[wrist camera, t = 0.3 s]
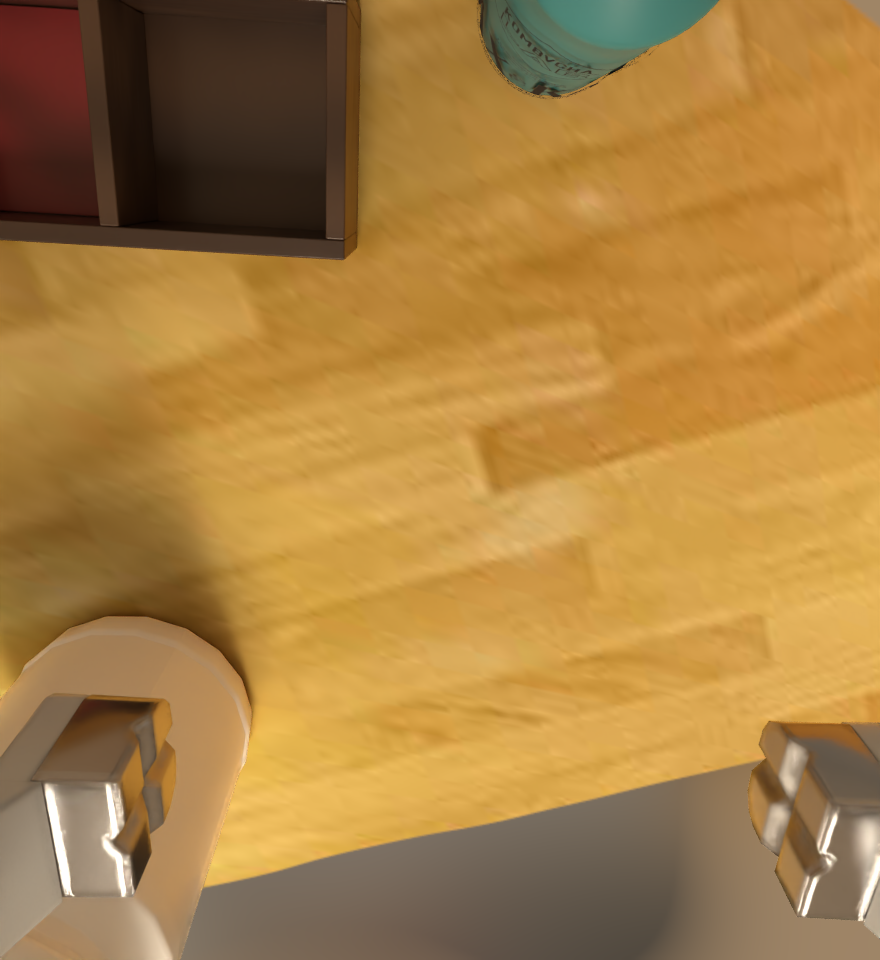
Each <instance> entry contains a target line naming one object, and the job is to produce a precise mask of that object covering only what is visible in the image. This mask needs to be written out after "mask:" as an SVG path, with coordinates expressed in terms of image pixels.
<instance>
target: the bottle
mask: <svg viewBox="0 0 880 960" xmlns="http://www.w3.org/2000/svg"><path fill="white" fill-rule="evenodd" d="M54 693H65V694H85V695H92V694H93V695H110V696H127V697H144V698H161V699H165V700H167V701H168V702H169V703H170V709H171V716H172V723H173V724H172V726H171V728H170V730H169V733H168V735H167V737H166V739H165V740H166V741H167V742H168V743H169V744H170V745H171V746H172V748H173V749H174V750H175V754H176V784H175V788H174V793H173V798H172V802H171V806H170V809H169V812H168V814H167V817H166V819H165V822H164V824H163V825H162V826H160V827H159V828H158V829H156V830H155V831H154V832H152V833H151V834H150V839H151V848H152V853H151V856H150V858H149V861H148V863H147V865H146V868H145V870H144V872H143V875H142V877H141V880H140V882H139V884H138V887H137V889H136V892H135V894H134V896H133V897H62V899H63V902H62V903H60V904H59V905H58V906H57V907H56V908H55V909H54V910H53V911H52V912H51V913H49V914H48V915H47V916H46V917H45V918H44V919H43V920H42V921H41V922H40V923H38V924H37V925H36V926H35V927H34V928H33V929H32V930H31V931H30V932H28V933H27V934H26V935H25V936H24V937H23V938H22V939H21V940H20V941H19V942H17V943H16V944H15V945H14V946H13V947H12V948H11V949H10V950H9V951H8V952H6V953H5V954H4V955H3V956H2V957H1V958H0V960H180V959H181V956H182V953H183V949H184V946H185V943H186V939H187V936H188V933H189V930H190V926H191V923H192V920H193V917H194V914H195V910H196V907H197V904H198V901H199V898H200V895H201V892H202V889H203V885H204V882H205V879H206V876H207V873H208V870H209V867H210V864H211V861H212V858H213V855H214V852H215V849H216V846H217V843H218V839H219V836H220V833H221V830H222V827H223V824H224V820H225V817H226V814H227V811H228V808H229V805H230V801H231V798H232V795H233V792H234V789H235V786H236V782H237V779H238V776H239V773H240V771H241V769H242V768H243V766H244V765H245V763H246V760H247V752H248V744H249V736H250V727H251V719H252V710H251V707H250V704H249V700H248V697H247V694H246V691H245V687H244V684H243V681H242V679H241V677H240V676H239V675H238V673H237V672H236V671H235V670H234V668H233V667H232V666H231V665H230V663H229V662H228V661H227V660H226V658H225V657H224V656H223V655H222V653H221V652H220V651H219V650H218V649H216V648H215V647H213V646H212V645H210V644H209V643H207V642H206V641H204V640H203V639H201V638H200V637H198V636H197V635H195V634H194V633H192V632H191V631H189V630H188V629H186V628H183V627H180V626H176V625H173V624H170V623H166V622H163V621H160V620H157V619H153V618H150V617H133V616H106V617H103V618H100V619H97V620H94V621H91V622H87V623H84V624H81V625H78V626H75V627H72V628H69V629H67V630H66V631H65V632H64V633H63V634H61V635H60V636H59V637H58V638H57V639H55V640H54V641H53V642H52V643H50V644H49V645H48V646H47V647H46V648H44V649H43V650H42V651H41V652H39V653H38V654H37V655H36V656H35V657H33V658H32V659H31V660H30V661H28V662H27V663H26V664H25V666H24V668H23V670H22V672H21V675H20V676H19V677H18V679H17V680H16V681H15V682H14V683H13V685H12V686H11V687H10V688H9V689H8V691H7V692H6V693H5V694H4V695H3V696H2V698H1V699H0V757H1V756H2V755H3V753H4V752H5V751H6V749H7V748H8V747H9V745H10V744H11V743H12V741H13V740H14V738H15V737H16V736H17V734H18V733H19V732H20V730H21V729H22V728H23V726H24V725H25V724H26V722H27V721H28V720H29V718H30V717H31V716H32V714H33V713H34V712H35V710H36V709H37V708H38V706H39V705H40V704H41V702H42V701H43V700H44V699H45V698H46V697H47V696H49V695H51V694H54Z"/></svg>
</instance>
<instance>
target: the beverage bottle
mask: <svg viewBox="0 0 880 960" xmlns="http://www.w3.org/2000/svg"><path fill="white" fill-rule="evenodd" d="M718 1H719V0H479V4H481V15H480V18H481V19H480V23H479V22H478V21H477V22H478V23H479V24H480V29H481V34H482V37H483V38H484V41H485V44H486V45H485V46H486V49H487V51H488V53H489V54H490V56H491V58H492V60H493V62H494V63H495V65H496V66H497V68H498V69H499V70H500V71H501V73H502V74H503V75H504V76H505V77H506V78H507V79H508V80H510V81H511V82H512V83H514V84H515V85H516V86H518V87H520V88H522V89H524V90H526V91H529V92H530V93H533V94H536V95H541V96H542V95H551V96H553V97H557V99H558V97H560V98H561V95H560V94H565V93H569V92H572V91H575V90H577V89H580V88H582V87H584V86H586V85H587V84H589V83H591V82H593V81H594V80H596V79H598V78H600V77H602V76H603V75H605V74H607V73H609V72H610V73H609V74H608V75H610V74H612V73H613V72H615V71H617V70H619V69H621V68H624V67H623V66H625V65H626V64H627V62H629V61H630V60H632V59H634V60H635V58H636V57H638V56H639V55H640V54H642V53H643V52H645V51H646V52H647V50H648V49H649V48H651V47H653V46H655V45H658V44H661V43H663V42H666V41H668V40H670V39H672V38H674V37H676V36H678V35H679V34H681V33H683V32H684V31H686V30H687V29H689V28H690V27H692V26H693V25H694V24H695V23H697V22H698V21H699V20H700V19H701V18H703V17H704V16H705V15H706V14H707V13H708V12H709V11H710V10H711V9H712V8H713V7H714V6H715V5H716V3H717V2H718ZM477 4H478V3H477ZM478 10H479V9H478ZM479 24H478V25H479ZM479 35H480V34H479ZM480 40H481V39H480ZM482 42H483V41H482ZM482 42H481V43H482ZM482 46H483V45H482ZM484 48H485V47H484ZM484 48H483V49H484ZM487 51H486V53H487ZM646 52H645V53H646ZM645 53H644V54H645ZM650 54H651V53H650ZM650 54H649V55H650ZM487 55H488V54H487ZM487 58H488V57H487ZM489 59H490V58H489ZM489 59H488V60H489ZM490 60H491V59H490ZM491 62H492V61H491ZM491 62H490V63H491ZM632 62H633V61H632ZM638 62H639V61H638ZM636 63H637V62H636ZM634 64H635V63H634ZM494 67H495V66H494ZM494 67H493V68H494ZM629 67H630V65H629ZM626 68H627V66H626ZM620 71H621V70H620ZM498 72H499V71H498ZM498 72H497V73H498ZM501 73H500V74H501ZM617 73H618V72H617ZM502 74H501V75H502ZM503 75H502V76H503ZM608 75H607V76H608ZM505 77H504V78H505ZM603 79H604V77H603ZM508 80H507V81H508ZM508 82H509V81H508ZM509 83H510V82H509ZM509 83H508V84H509ZM512 83H511V84H512ZM597 84H598V83H597ZM512 85H513V84H512ZM594 85H596V84H594ZM594 85H591V86H590V87H592V86H594ZM512 87H513V86H512ZM588 87H589V86H588ZM588 87H587V88H588ZM516 88H517V87H516ZM516 88H515V89H516ZM518 89H519V88H518ZM585 89H586V88H585ZM520 90H521V89H520ZM583 90H584V89H583ZM521 91H523V90H521ZM521 91H520V92H521ZM580 91H581V90H580ZM580 91H578V92H580ZM522 93H523V92H522ZM526 93H527V92H526ZM530 93H528V94H530ZM575 93H577V92H575ZM524 94H525V93H524ZM528 94H527V95H528ZM573 94H574V93H573ZM536 95H535V96H536ZM570 95H572V94H570ZM533 96H534V95H533ZM533 96H532V97H533ZM567 96H568V95H567ZM539 97H540V96H539ZM565 97H566V96H565ZM537 98H538V97H537ZM542 99H545V98H544V97H542Z"/></svg>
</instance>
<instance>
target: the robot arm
mask: <svg viewBox="0 0 880 960" xmlns="http://www.w3.org/2000/svg"><path fill="white" fill-rule="evenodd" d="M172 724H173V723H172V716H171V709H170V703H169V702H168V701H167V700H165V699H161V698H144V697H127V696H110V695H93V694H92V695H85V694H65V693H54V694H51V695H49V696H47V697H46V698H45V699H44V700H43V701H42V702H41V704H40V705H39V706H38V708H37V709H36V710H35V712H34V713H33V714H32V716H31V717H30V718H29V720H28V721H27V722H26V724H25V725H24V726H23V728H22V729H21V730H20V732H19V733H18V734H17V736H16V737H15V738H14V740H13V741H12V743H11V744H10V745H9V747H8V748H7V749H6V751H5V752H4V753H3V755H2V756H1V757H0V958H1V957H2V956H3V955H4V954H5V953H6V952H8V951H9V950H10V949H11V948H12V947H13V946H14V945H15V944H16V943H17V942H19V941H20V940H21V939H22V938H23V937H24V936H25V935H26V934H27V933H28V932H30V931H31V930H32V929H33V928H34V927H35V926H36V925H37V924H38V923H40V922H41V921H42V920H43V919H44V918H45V917H46V916H47V915H48V914H49V913H51V912H52V911H53V910H54V909H55V908H56V907H57V906H58V905H59V904H60V903H62V902H63V899H62V897H133V896H134V894H135V892H136V889H137V887H138V884H139V882H140V880H141V877H142V875H143V872H144V870H145V868H146V865H147V863H148V861H149V858H150V856H151V853H152V848H151V839H150V834H151V833H152V832H154V831H155V830H156V829H158V828H159V827H160V826H162V825H163V824H164V822H165V819H166V817H167V814H168V812H169V809H170V806H171V802H172V798H173V793H174V788H175V784H176V754H175V750H174V749H173V748H172V746H171V745H170V744H169V743H168V742H167V741H166V740H165V739H166V737H167V735H168V733H169V730H170V728H171V726H172ZM759 746H760V748H761V750H762V751H763V753H764V755H765V757H766V759H764V760H763V761H762V762H761V763H760V764H759V765H758V766H757V767H755V768H754V769H753V770H752V773H751V777H750V783H749V787H748V803H749V813H750V817H751V820H752V824H753V827H754V829H755V831H756V834H757V836H758V838H759V840H760V842H761V844H763V845H764V846H765V847H767V848H768V849H769V850H771V851H772V852H773V853H774V854H775V855H777V856H778V857H779V858H778V862H777V865H776V869H775V873H776V875H777V877H778V879H779V881H780V883H781V885H782V887H783V889H784V891H785V893H786V896H787V898H788V899H789V902H790V904H791V906H792V908H793V910H794V912H795V914H796V916H797V917H808V918H825V919H841V920H858V921H859V920H861V921H865V922H864V925H865V926H866V927H867V928H868V929H869V930H871V931H872V932H873V933H874V934H875V935H876V936H877V937H878V938H879V939H880V723H862V722H842V723H841V724H840V723H815V722H783V721H769V722H768V723H767V725H766V726H765V727H764V729H763V731H762V735H761V738H760V742H759Z"/></svg>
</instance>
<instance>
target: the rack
mask: <svg viewBox="0 0 880 960" xmlns="http://www.w3.org/2000/svg"><path fill="white" fill-rule="evenodd" d="M360 37H361V10H360V8H359V6H358V4H357V1H356V0H0V240H10V241H27V242H44V243H61V244H78V245H95V246H112V247H129V248H146V249H163V250H180V251H197V252H214V253H231V254H248V255H265V256H282V257H299V258H316V259H333V260H344V259H346V258H347V257H348V256H349V255H350V254H351V253H352V252H353V251H354V250H355V249H356V248H357V214H358V155H359V96H360Z"/></svg>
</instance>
